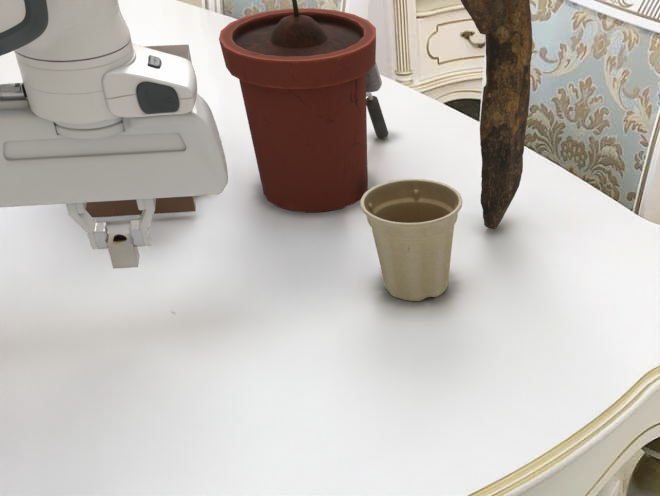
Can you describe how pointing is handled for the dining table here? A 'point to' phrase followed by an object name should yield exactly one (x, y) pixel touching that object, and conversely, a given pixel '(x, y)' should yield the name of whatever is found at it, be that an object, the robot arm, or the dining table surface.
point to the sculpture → (503, 99)
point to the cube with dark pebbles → (122, 251)
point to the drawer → (132, 208)
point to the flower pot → (413, 234)
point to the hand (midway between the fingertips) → (122, 245)
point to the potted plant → (307, 102)
